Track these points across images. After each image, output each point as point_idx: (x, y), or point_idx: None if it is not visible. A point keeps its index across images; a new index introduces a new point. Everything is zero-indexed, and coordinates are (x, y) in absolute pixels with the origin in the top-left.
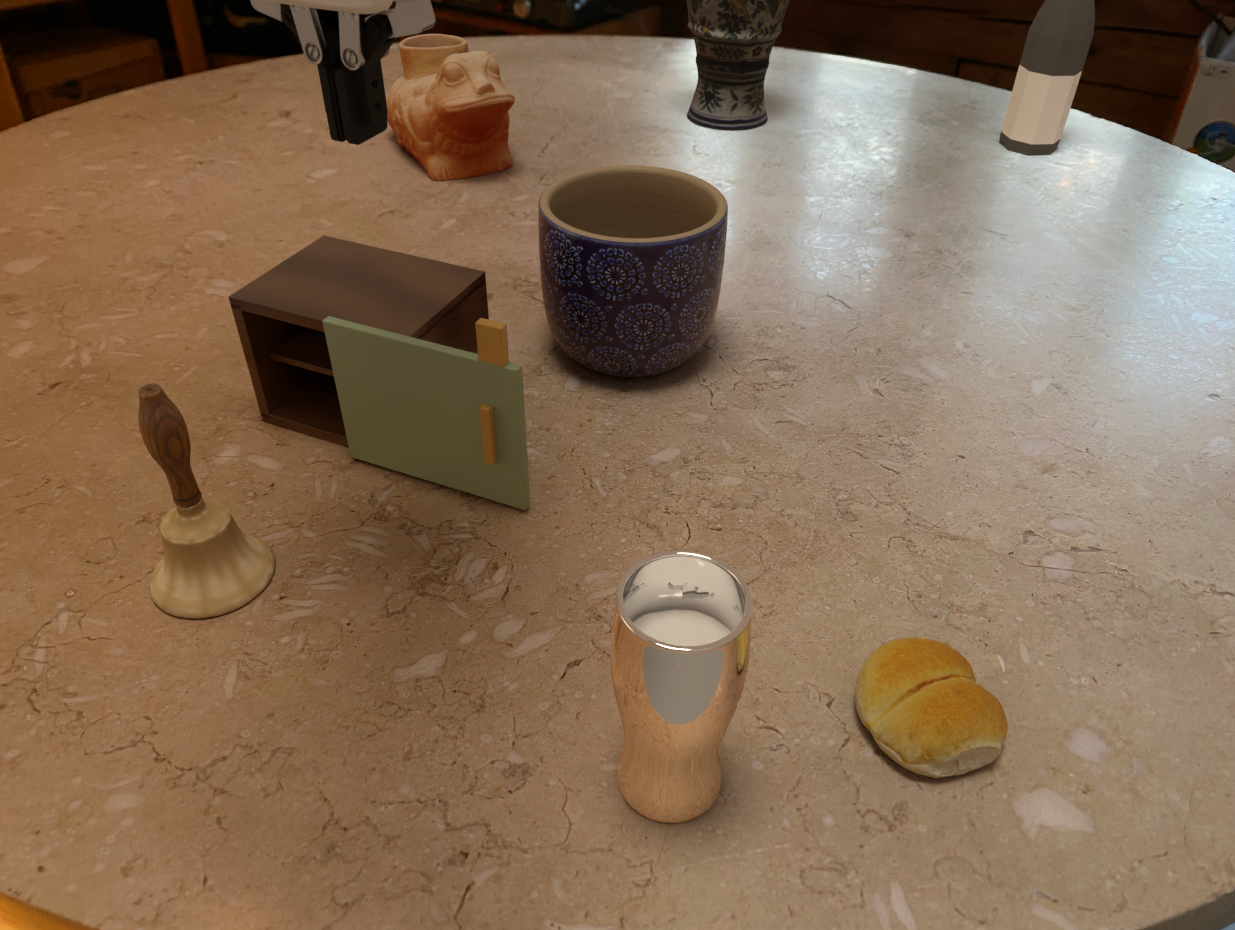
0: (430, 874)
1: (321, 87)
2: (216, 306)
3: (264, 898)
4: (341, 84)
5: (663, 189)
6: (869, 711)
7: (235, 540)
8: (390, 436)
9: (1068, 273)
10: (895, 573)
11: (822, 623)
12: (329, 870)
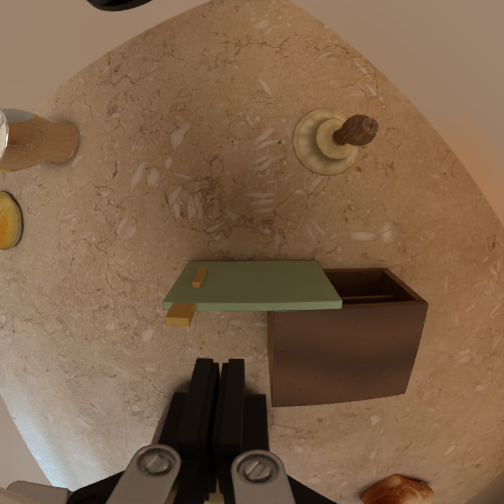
0: (123, 58)
1: (267, 426)
2: (459, 342)
3: (177, 21)
4: (188, 420)
5: (213, 496)
6: (10, 204)
7: (313, 145)
8: (284, 269)
9: (83, 480)
10: (33, 291)
11: (42, 249)
12: (160, 39)
